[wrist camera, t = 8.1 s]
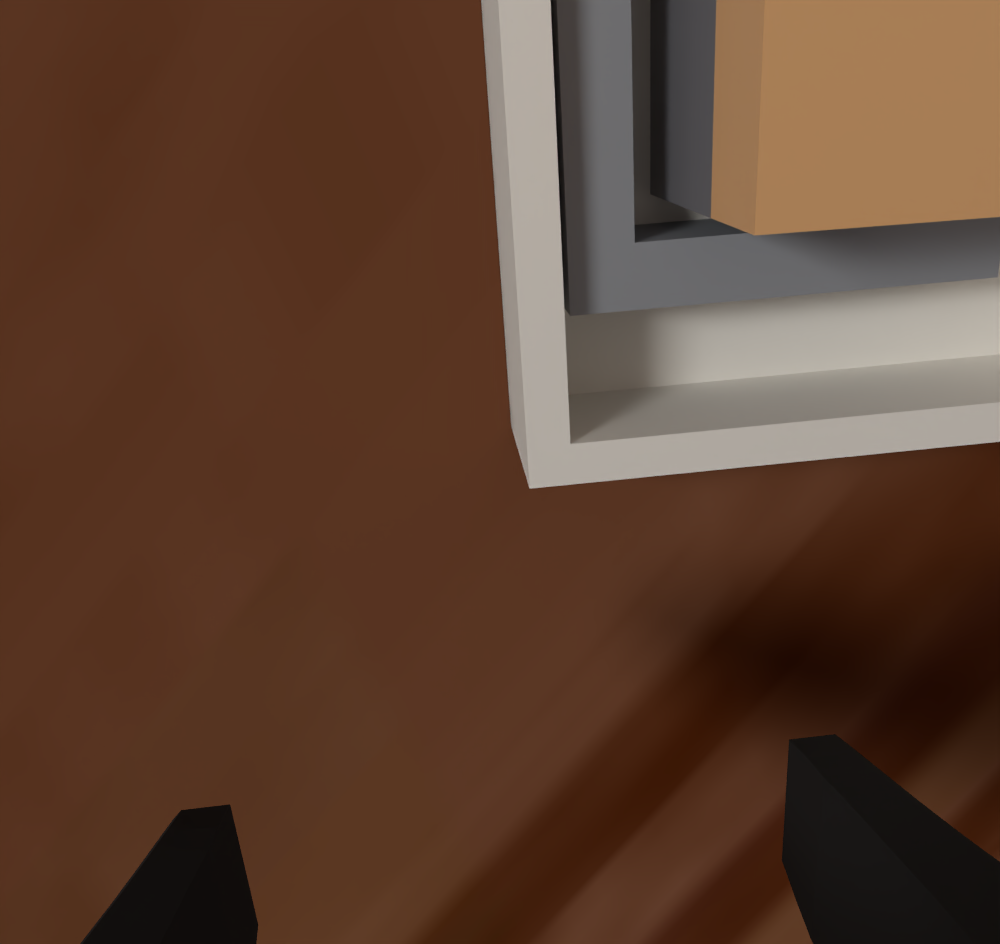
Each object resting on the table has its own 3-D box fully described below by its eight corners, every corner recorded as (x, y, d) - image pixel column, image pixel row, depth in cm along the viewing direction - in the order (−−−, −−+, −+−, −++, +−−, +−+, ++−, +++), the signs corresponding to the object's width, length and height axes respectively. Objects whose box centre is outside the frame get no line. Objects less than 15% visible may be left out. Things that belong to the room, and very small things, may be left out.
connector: (865, -49, 17) (1089, -124, 11) (847, 179, 18) (1036, 214, 13) (650, -37, 16) (769, -106, 11) (650, 194, 18) (754, 235, 12)
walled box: (1243, -279, 16) (1446, -373, 13) (1119, 367, 21) (1247, 416, 18) (464, -234, 16) (477, -321, 12) (511, 426, 20) (529, 488, 17)
